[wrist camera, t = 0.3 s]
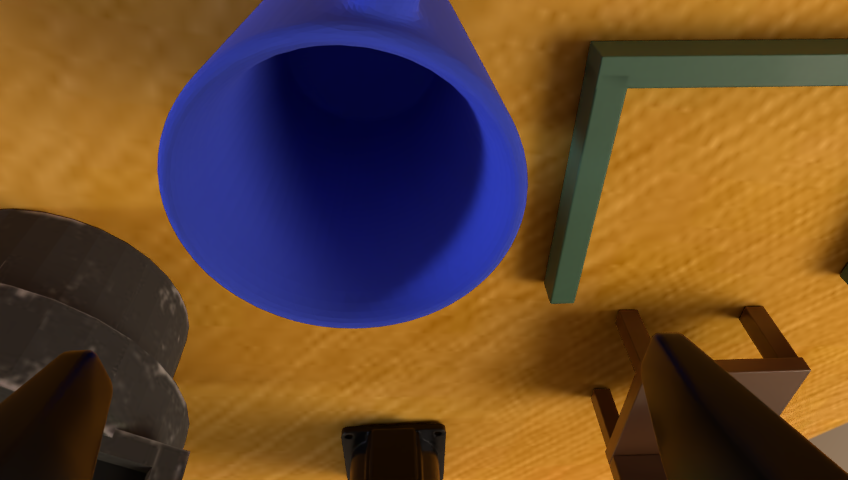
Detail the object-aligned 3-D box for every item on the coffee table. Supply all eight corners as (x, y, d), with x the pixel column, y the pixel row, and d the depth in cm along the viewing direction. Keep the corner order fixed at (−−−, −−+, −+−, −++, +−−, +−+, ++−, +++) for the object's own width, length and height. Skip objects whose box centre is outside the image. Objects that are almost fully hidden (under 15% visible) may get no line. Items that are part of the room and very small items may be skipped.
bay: (861, 274, 29) (880, 296, 28) (543, 282, 29) (549, 304, 27) (1021, 37, 22) (1056, 52, 20) (590, 40, 21) (601, 56, 20)
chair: (716, 394, 35) (779, 517, 30) (588, 399, 35) (627, 523, 29) (765, 304, 30) (853, 430, 25) (617, 308, 30) (671, 437, 24)
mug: (552, -191, 17) (692, -156, 9) (444, 161, 24) (469, 348, 16) (261, -283, 15) (123, -337, 7) (241, 123, 22) (162, 309, 15)
